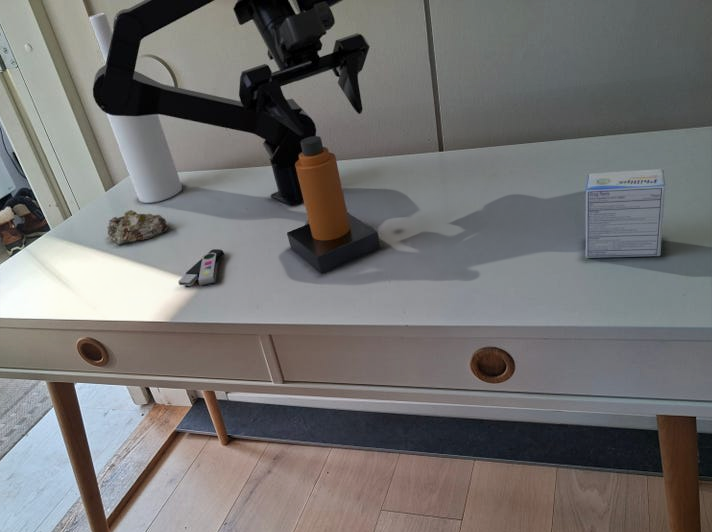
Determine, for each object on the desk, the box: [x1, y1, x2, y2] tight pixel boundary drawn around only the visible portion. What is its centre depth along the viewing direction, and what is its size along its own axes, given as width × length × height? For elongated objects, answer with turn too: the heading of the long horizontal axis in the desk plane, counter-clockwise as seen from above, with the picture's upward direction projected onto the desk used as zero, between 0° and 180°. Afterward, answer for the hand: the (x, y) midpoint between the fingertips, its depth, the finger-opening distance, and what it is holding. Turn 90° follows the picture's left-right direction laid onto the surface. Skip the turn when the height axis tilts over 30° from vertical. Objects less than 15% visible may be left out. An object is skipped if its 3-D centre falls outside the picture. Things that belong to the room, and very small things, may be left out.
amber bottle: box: [295, 135, 350, 241], centre depth 91 cm, size 5×5×13 cm
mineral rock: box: [107, 209, 169, 246], centre depth 113 cm, size 11×4×8 cm
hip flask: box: [286, 211, 382, 275], centre depth 96 cm, size 12×9×3 cm
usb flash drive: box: [178, 248, 225, 287], centre depth 97 cm, size 9×5×1 cm, turn 155°
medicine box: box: [585, 168, 666, 259], centre depth 78 cm, size 8×4×9 cm, turn 71°
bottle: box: [88, 12, 183, 204], centre depth 119 cm, size 8×8×30 cm
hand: (331, 122), depth 96 cm, fingers open, 9 cm apart
